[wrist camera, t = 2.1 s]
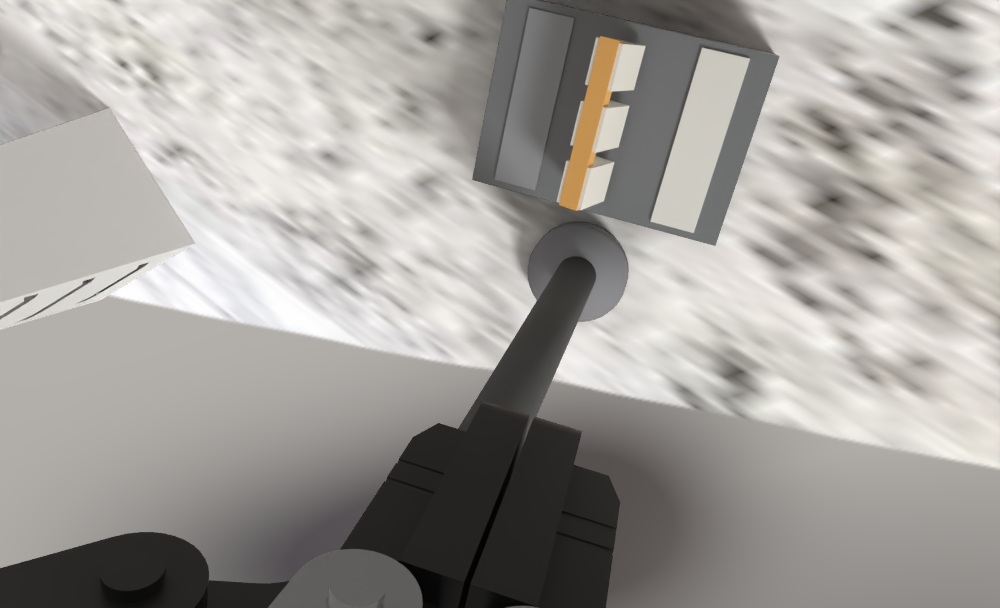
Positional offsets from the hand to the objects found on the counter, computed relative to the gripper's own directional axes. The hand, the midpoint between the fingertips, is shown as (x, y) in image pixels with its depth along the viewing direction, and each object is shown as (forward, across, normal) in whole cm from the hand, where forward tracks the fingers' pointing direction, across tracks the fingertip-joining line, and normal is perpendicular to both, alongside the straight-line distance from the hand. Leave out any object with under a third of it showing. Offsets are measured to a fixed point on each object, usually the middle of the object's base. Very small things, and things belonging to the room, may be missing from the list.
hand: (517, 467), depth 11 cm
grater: (+36, +36, +14) cm, 52 cm away
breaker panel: (+35, +2, -1) cm, 35 cm away
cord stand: (+35, +2, +9) cm, 36 cm away
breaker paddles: (+32, +2, -1) cm, 32 cm away
